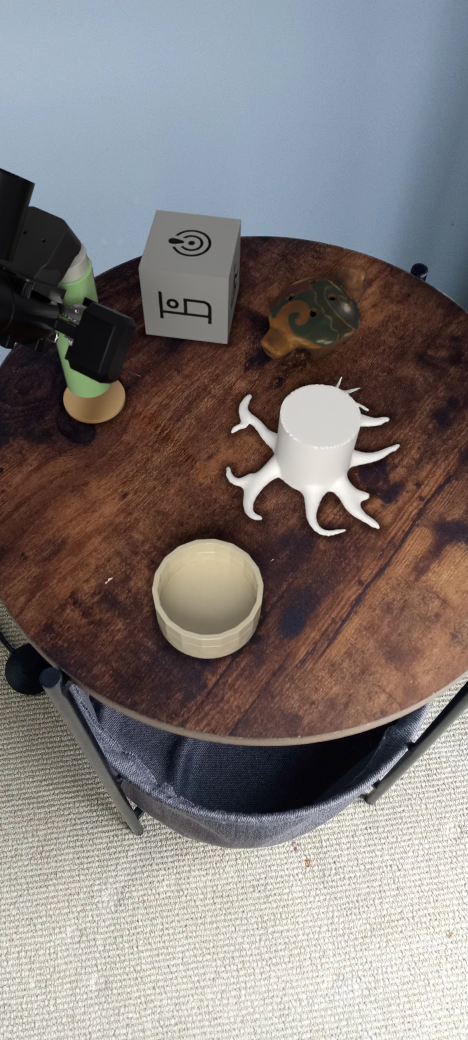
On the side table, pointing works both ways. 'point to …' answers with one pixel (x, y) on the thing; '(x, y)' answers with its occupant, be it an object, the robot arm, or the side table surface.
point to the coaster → (96, 404)
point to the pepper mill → (78, 287)
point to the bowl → (208, 598)
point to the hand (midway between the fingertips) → (86, 322)
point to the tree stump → (312, 450)
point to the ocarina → (315, 314)
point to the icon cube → (190, 276)
